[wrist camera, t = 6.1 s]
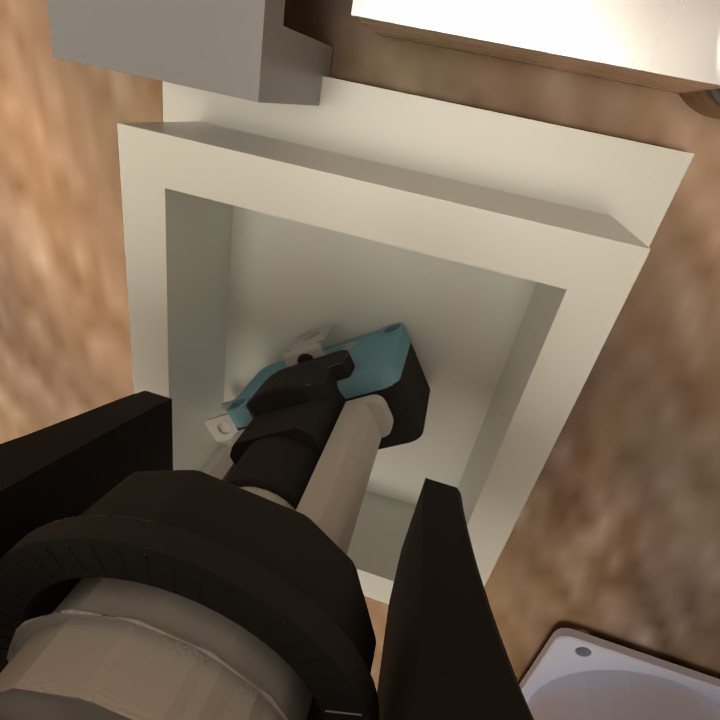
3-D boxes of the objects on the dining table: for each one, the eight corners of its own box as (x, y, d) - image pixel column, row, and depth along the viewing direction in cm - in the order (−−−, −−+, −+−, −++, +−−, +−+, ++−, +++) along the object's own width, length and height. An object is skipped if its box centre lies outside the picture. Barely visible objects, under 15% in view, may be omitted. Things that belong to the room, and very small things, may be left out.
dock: (828, -145, 8) (1069, -332, 5) (483, 572, 17) (481, 682, 14) (171, -230, 9) (0, -416, 6) (177, 470, 18) (109, 547, 15)
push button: (269, 467, 16) (30, 871, 8) (189, 330, 14) (-248, 651, 6) (459, 424, 14) (432, 937, 5) (391, 253, 12) (175, 599, 3)
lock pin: (872, -31, 8) (1012, -85, 6) (781, 131, 10) (869, 135, 7) (402, -105, 9) (374, -173, 7) (376, 50, 11) (345, 33, 8)
